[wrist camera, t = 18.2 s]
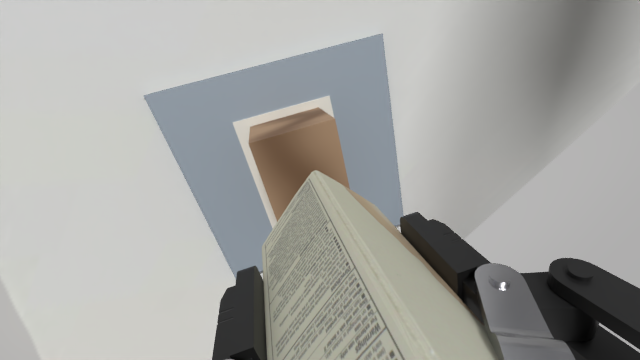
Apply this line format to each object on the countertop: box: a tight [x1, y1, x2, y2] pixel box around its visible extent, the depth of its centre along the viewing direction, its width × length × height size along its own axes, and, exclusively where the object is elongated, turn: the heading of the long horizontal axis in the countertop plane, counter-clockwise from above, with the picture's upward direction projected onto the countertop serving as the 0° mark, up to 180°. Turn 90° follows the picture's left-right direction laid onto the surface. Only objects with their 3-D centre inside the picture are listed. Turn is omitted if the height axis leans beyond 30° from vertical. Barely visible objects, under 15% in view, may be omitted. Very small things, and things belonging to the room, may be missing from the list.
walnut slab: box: [248, 107, 350, 222], centre depth 19 cm, size 5×9×4 cm, turn 14°
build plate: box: [144, 34, 403, 278], centre depth 21 cm, size 16×16×1 cm
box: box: [262, 170, 499, 360], centre depth 9 cm, size 5×4×11 cm
